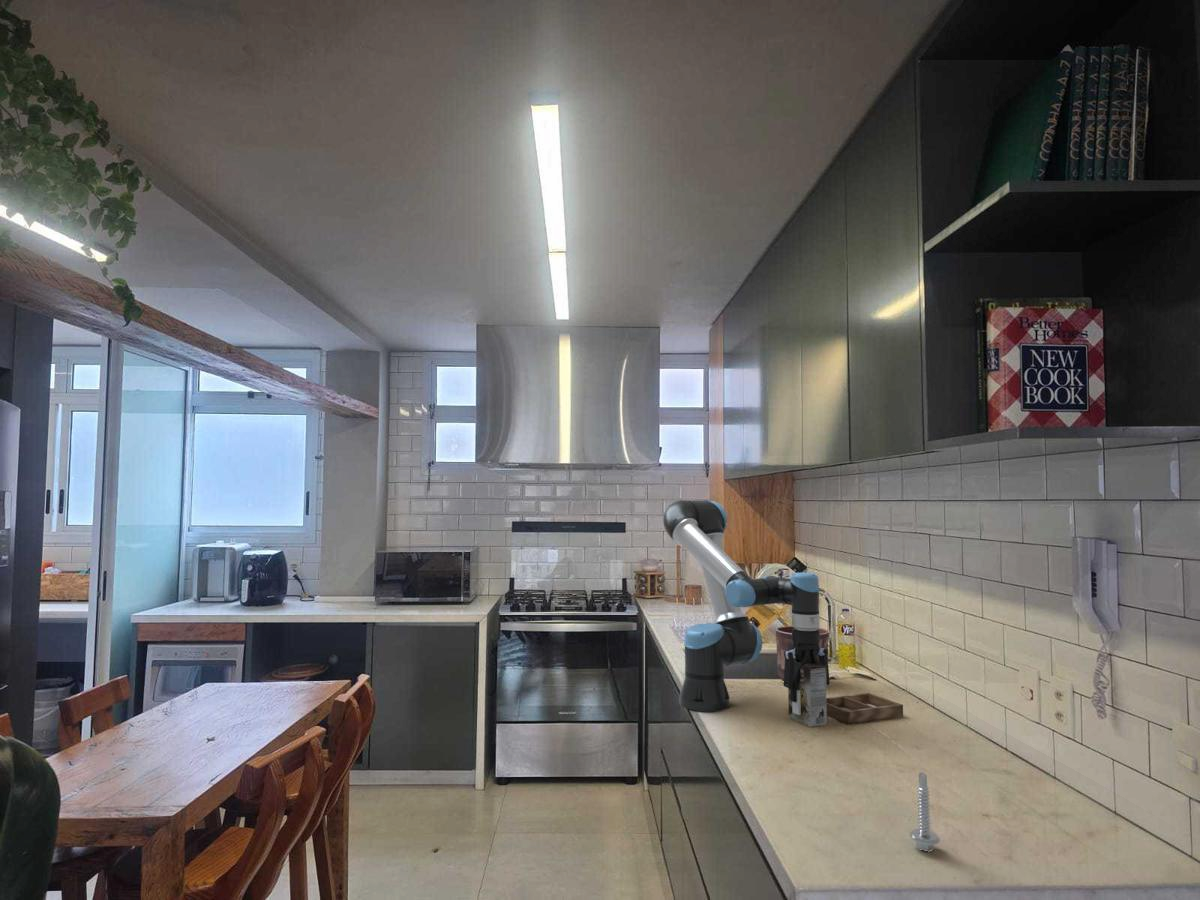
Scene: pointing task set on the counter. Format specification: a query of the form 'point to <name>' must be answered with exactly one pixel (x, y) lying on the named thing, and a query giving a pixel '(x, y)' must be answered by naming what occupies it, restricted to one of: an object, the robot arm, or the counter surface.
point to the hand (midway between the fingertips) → (807, 712)
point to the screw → (924, 819)
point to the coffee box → (811, 695)
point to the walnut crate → (862, 708)
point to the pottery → (787, 644)
